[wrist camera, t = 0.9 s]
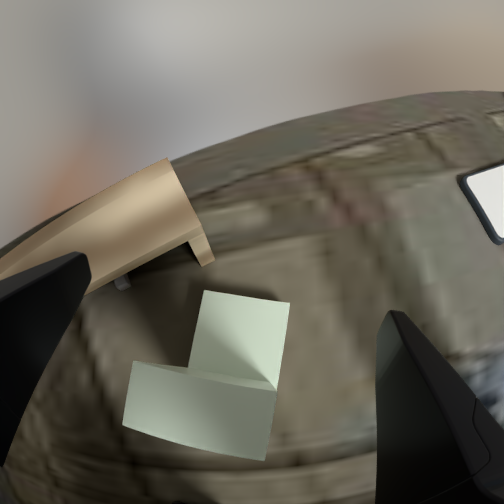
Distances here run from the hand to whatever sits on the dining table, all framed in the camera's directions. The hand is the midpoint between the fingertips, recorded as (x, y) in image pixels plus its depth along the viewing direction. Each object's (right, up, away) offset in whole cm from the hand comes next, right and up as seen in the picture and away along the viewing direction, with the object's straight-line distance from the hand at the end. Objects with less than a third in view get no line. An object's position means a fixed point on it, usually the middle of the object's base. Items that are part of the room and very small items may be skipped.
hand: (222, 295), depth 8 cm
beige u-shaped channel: (-14, -2, +15) cm, 21 cm away
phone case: (+32, +7, +18) cm, 38 cm away
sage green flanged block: (0, -6, +13) cm, 14 cm away
